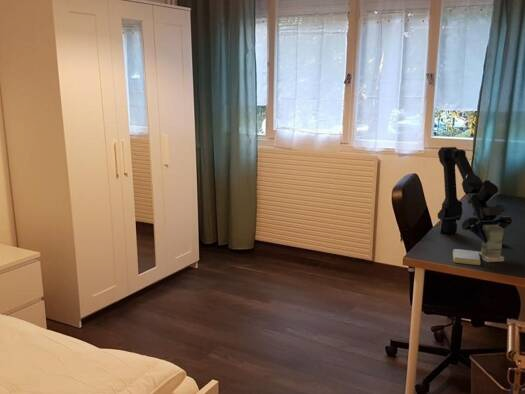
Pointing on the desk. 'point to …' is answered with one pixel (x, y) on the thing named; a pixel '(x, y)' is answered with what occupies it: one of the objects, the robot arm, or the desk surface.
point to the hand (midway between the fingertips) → (494, 242)
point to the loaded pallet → (492, 244)
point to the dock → (466, 257)
